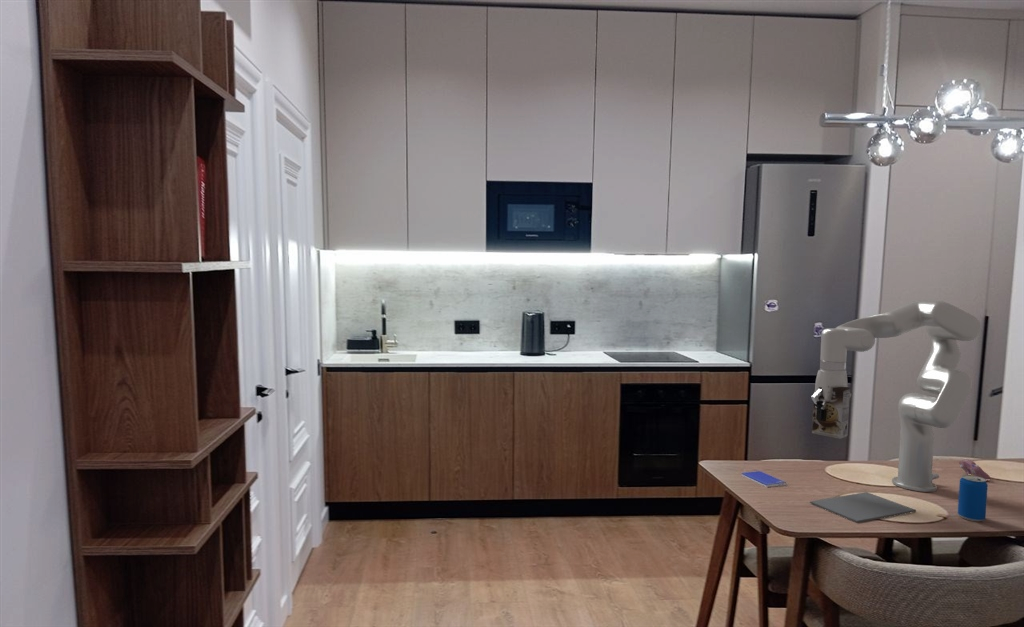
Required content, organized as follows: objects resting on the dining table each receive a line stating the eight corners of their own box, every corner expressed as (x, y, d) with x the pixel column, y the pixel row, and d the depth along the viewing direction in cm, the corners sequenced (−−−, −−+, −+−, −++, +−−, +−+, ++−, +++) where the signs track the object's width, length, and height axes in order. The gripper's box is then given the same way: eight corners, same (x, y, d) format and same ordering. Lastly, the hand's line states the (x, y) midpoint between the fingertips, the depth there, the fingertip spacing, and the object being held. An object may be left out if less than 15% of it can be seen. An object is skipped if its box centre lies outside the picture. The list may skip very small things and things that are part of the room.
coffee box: (811, 433, 199) (813, 384, 198) (819, 430, 203) (821, 382, 202) (840, 439, 192) (843, 388, 191) (848, 435, 196) (850, 386, 195)
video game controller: (962, 476, 221) (954, 459, 221) (975, 471, 220) (966, 454, 220) (979, 485, 211) (971, 467, 211) (992, 480, 211) (984, 462, 211)
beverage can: (990, 523, 173) (993, 482, 173) (965, 521, 174) (967, 480, 174) (977, 514, 180) (979, 475, 179) (953, 513, 181) (955, 473, 180)
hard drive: (786, 481, 203) (760, 470, 215) (766, 484, 200) (741, 472, 212) (786, 486, 203) (760, 475, 215) (766, 488, 201) (741, 477, 212)
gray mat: (866, 493, 196) (866, 492, 196) (915, 511, 181) (915, 509, 181) (809, 503, 186) (809, 501, 186) (856, 522, 172) (856, 520, 172)
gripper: (842, 363, 203) (839, 415, 204) (803, 365, 196) (801, 419, 197) (862, 366, 196) (859, 420, 197) (823, 369, 189) (820, 424, 190)
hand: (830, 419), depth 197 cm, fingers closed on coffee box, 7 cm apart
